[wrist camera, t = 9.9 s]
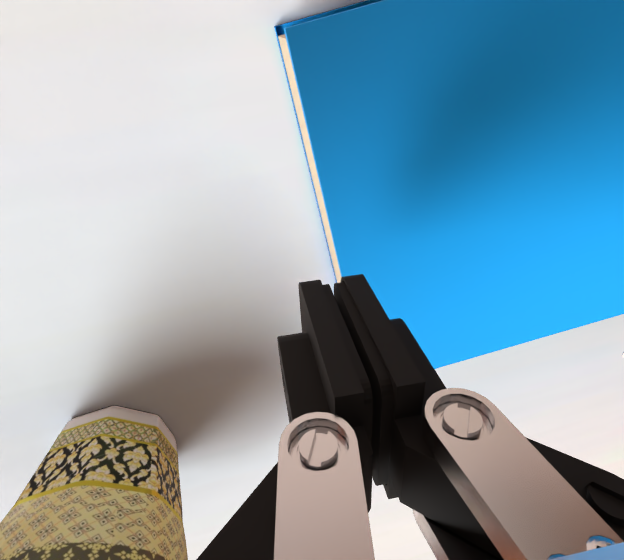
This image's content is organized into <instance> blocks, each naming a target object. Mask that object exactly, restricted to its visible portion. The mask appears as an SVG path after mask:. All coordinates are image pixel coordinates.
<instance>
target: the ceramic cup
mask: <svg viewBox="0 0 624 560" xmlns="http://www.w3.org/2000/svg"><path fill="white" fill-rule="evenodd" d="M0 560H188V558H187V548H186V540H185V534H184V528H183V522H182V502H181V491H180V480H179V470H178V455H177V445H176V441H175V437H174V436H173V434H172V433H171V432H170V430H169V429H168V427H167V426H166V425H165V423H164V422H163V421H162V419H161V418H160V417H159V416H158V415H155V414H151V413H146V412H142V411H137V410H133V409H128V408H124V407H119V406H110V407H107V408H104V409H101V410H98V411H95V412H91V413H88V414H85V415H82V416H79V417H76V418H73V419H72V420H71V421H69V422H68V423H67V424H66V426H65V427H64V429H63V430H62V432H61V433H60V434H59V436H58V437H57V439H56V441H55V442H54V444H53V446H52V447H51V449H50V451H49V452H48V453H47V455H46V457H45V458H44V460H43V461H42V463H41V464H40V466H39V467H38V469H37V470H36V472H35V473H34V475H33V477H32V478H31V480H30V481H29V483H28V484H27V486H26V487H25V489H24V491H23V492H22V494H21V495H20V497H19V498H18V500H17V502H16V503H15V505H14V506H13V507H12V509H11V510H10V511H9V513H8V514H7V515H6V516H5V518H4V519H3V520H2V522H1V523H0Z"/></svg>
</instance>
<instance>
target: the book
mask: <svg viewBox="0 0 624 560" xmlns="http://www.w3.org/2000/svg"><path fill="white" fill-rule="evenodd" d="M274 27H275V31H276V36H277V40H278V44H279V48H280V52H281V56H282V60H283V64H284V69H285V73H286V77H287V81H288V85H289V89H290V93H291V97H292V102H293V106H294V110H295V114H296V118H297V122H298V126H299V130H300V135H301V139H302V143H303V147H304V151H305V155H306V159H307V163H308V168H309V172H310V176H311V180H312V184H313V188H314V192H315V197H316V201H317V205H318V209H319V213H320V217H321V221H322V225H323V230H324V234H325V238H326V242H327V246H328V250H329V254H330V258H331V263H332V267H333V271H334V275H335V279H336V283H341V277H344V276H351V275H359V274H363V275H364V276H365V278H366V280H367V281H368V283H369V285H370V287H371V288H372V290H373V292H374V294H375V295H376V297H377V299H378V300H379V302H380V304H381V306H382V307H383V309H384V311H385V313H386V314H387V316H388V318H389V319H397V318H401V319H402V320H403V321H404V322H405V323H406V325H407V327H408V328H409V330H410V331H411V333H412V335H413V336H414V338H415V339H416V341H417V342H418V344H419V346H420V347H421V349H422V350H423V352H424V354H425V355H426V357H427V358H428V360H429V362H430V363H431V365H432V366H433V368H434V369H436V368H439V367H442V366H446V365H449V364H453V363H456V362H460V361H463V360H467V359H470V358H473V357H477V356H480V355H484V354H487V353H491V352H494V351H497V350H501V349H504V348H508V347H511V346H515V345H518V344H521V343H525V342H528V341H532V340H535V339H539V338H542V337H546V336H549V335H552V334H556V333H559V332H563V331H566V330H570V329H573V328H576V327H580V326H583V325H587V324H590V323H594V322H597V321H600V320H604V319H607V318H611V317H614V316H618V315H621V314H624V0H367V1H363V2H360V3H356V4H353V5H349V6H346V7H342V8H338V9H335V10H331V11H328V12H324V13H321V14H317V15H313V16H310V17H306V18H303V19H299V20H296V21H292V22H289V23H285V24H281V25H278V26H274Z"/></svg>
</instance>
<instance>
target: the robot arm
mask: <svg viewBox="0 0 624 560" xmlns="http://www.w3.org/2000/svg"><path fill="white" fill-rule="evenodd" d="M299 297H300V310H301V323H302V333H298V334H292V335H285V336H279V337H277V339H278V348H279V356H280V365H281V372H282V379H283V386H284V392H285V398H286V404H287V410H288V416H289V422H290V424H288V425H287V426H286V428H285V430H284V431H283V433H282V434H281V438H280V442H279V453H278V463H277V464H276V465H275V466H274V467H273V469H272V470H271V471H270V472H269V473H268V475H267V476H266V477H265V478H264V479H263V481H262V482H261V483H260V484H259V485H258V487H257V488H256V489H255V490H254V491H253V493H252V494H251V495H250V496H249V497H248V499H247V500H246V501H245V502H244V503H243V505H242V506H241V507H240V508H239V509H238V511H237V512H236V513H235V514H234V515H233V517H232V518H231V519H230V520H229V521H228V523H227V524H226V525H225V526H224V527H223V529H222V530H221V531H220V532H219V533H218V535H217V536H216V537H215V538H214V539H213V541H212V542H211V543H210V544H209V545H208V547H207V548H206V549H205V550H204V551H203V553H202V554H201V555H200V556H199V557H198V559H197V560H375V558H374V551H373V544H372V537H371V530H370V523H369V517H368V512H369V511H370V509H371V491H372V477H373V480H374V483H375V485H376V486H378V485H382V484H383V485H384V488H385V491H386V494H387V497H388V499H392V498H396V497H399V500H400V502H401V503H403V504H405V505H406V506H408V507H410V508H412V509H413V514H414V517H415V520H416V522H417V524H418V526H419V528H420V530H421V531H422V533H423V535H424V537H425V539H426V540H427V542H428V544H429V546H430V548H431V549H432V551H433V553H434V555H435V557H436V558H437V560H624V479H622V478H620V477H618V476H616V475H614V474H612V473H610V472H607V471H605V470H603V469H600V468H598V467H595V466H593V465H591V464H588V463H586V462H583V461H581V460H579V459H576V458H574V457H571V456H569V455H567V454H564V453H562V452H559V451H557V450H555V449H552V448H550V447H547V446H545V445H543V444H540V443H538V442H535V441H533V440H531V439H528V438H526V437H524V436H523V434H522V433H521V432H520V431H519V430H518V429H517V428H516V427H515V426H514V425H513V424H512V423H511V422H510V421H509V420H508V419H507V418H506V417H505V415H504V414H503V413H502V412H501V411H500V410H499V409H498V408H497V407H496V406H495V405H494V404H493V403H492V402H490V401H489V400H488V399H487V398H486V397H484V396H482V395H480V394H478V393H476V392H473V391H470V390H466V389H461V388H448V389H446V387H445V386H444V384H443V382H442V381H441V379H440V378H439V376H438V374H437V373H436V371H435V370H434V368H433V366H432V365H431V363H430V362H429V360H428V358H427V357H426V355H425V354H424V352H423V350H422V349H421V347H420V346H419V344H418V342H417V341H416V339H415V338H414V336H413V335H412V333H411V331H410V330H409V328H408V327H407V325H406V323H405V322H404V321H403V320H402V319H401V318H397V319H389V318H388V316H387V314H386V313H385V311H384V309H383V307H382V306H381V304H380V302H379V300H378V299H377V297H376V295H375V294H374V292H373V290H372V288H371V287H370V285H369V283H368V281H367V280H366V278H365V276H364V275H363V274H359V275H351V276H344V277H341V283H335V284H334V295H333V293H332V290H331V288H330V286H329V284H326V285H322V283H321V281H320V280H315V281H307V282H300V283H299Z"/></svg>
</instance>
